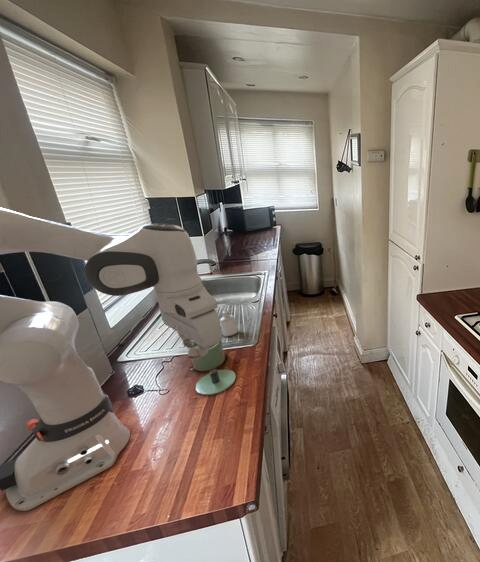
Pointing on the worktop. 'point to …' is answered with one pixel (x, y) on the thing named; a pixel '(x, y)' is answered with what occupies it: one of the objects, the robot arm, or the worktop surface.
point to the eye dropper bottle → (228, 324)
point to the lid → (215, 382)
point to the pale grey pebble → (194, 353)
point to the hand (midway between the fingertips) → (196, 349)
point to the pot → (209, 358)
